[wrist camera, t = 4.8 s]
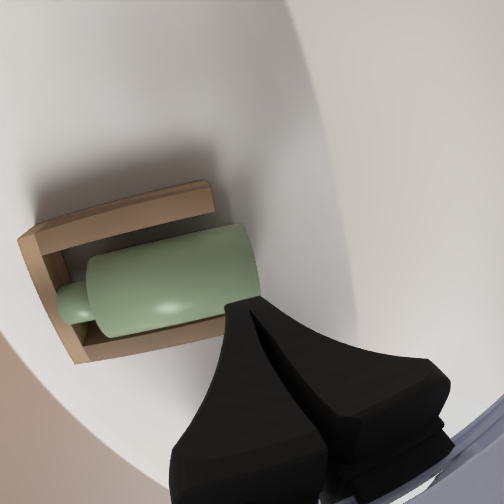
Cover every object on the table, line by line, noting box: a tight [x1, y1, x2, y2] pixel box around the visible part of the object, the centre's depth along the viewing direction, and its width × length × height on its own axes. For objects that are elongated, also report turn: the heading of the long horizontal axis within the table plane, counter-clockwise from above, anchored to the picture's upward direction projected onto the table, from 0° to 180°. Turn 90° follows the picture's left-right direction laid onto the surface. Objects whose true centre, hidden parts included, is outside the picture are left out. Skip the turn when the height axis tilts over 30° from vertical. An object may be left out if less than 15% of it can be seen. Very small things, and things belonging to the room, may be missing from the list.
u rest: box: [17, 180, 225, 364], centre depth 15 cm, size 8×10×2 cm
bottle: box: [57, 223, 261, 338], centre depth 15 cm, size 4×4×10 cm
